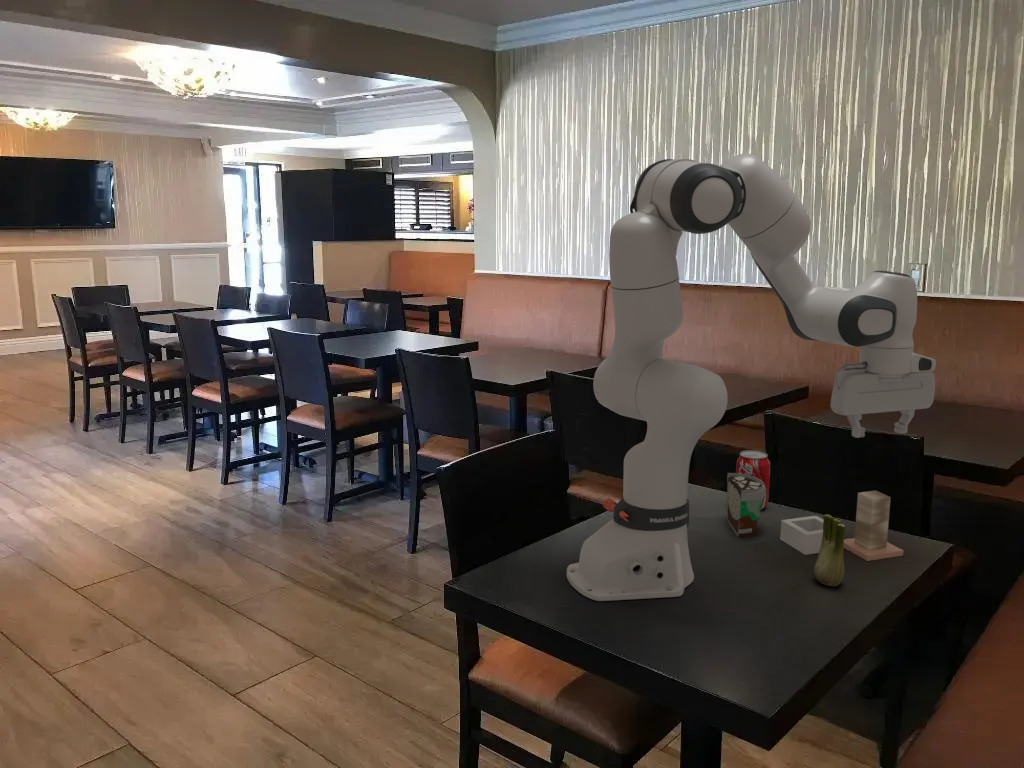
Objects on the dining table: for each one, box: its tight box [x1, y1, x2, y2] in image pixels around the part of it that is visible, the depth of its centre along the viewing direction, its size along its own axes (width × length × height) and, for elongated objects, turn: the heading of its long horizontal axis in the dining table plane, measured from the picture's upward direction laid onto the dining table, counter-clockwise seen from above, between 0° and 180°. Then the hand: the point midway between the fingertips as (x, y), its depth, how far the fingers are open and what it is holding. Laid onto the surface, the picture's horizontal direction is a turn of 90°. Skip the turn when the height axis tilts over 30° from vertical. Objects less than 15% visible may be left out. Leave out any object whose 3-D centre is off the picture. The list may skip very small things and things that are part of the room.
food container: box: [726, 472, 766, 538], centre depth 173 cm, size 12×6×10 cm, turn 179°
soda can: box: [735, 449, 771, 511], centre depth 185 cm, size 7×7×12 cm
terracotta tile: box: [843, 537, 904, 562], centre depth 162 cm, size 8×8×1 cm
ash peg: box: [854, 490, 892, 550], centre depth 161 cm, size 4×4×10 cm
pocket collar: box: [779, 515, 824, 556], centre depth 164 cm, size 8×8×4 cm
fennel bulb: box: [813, 513, 846, 587], centre depth 147 cm, size 6×5×12 cm
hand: (879, 434), depth 157 cm, fingers open, 8 cm apart
